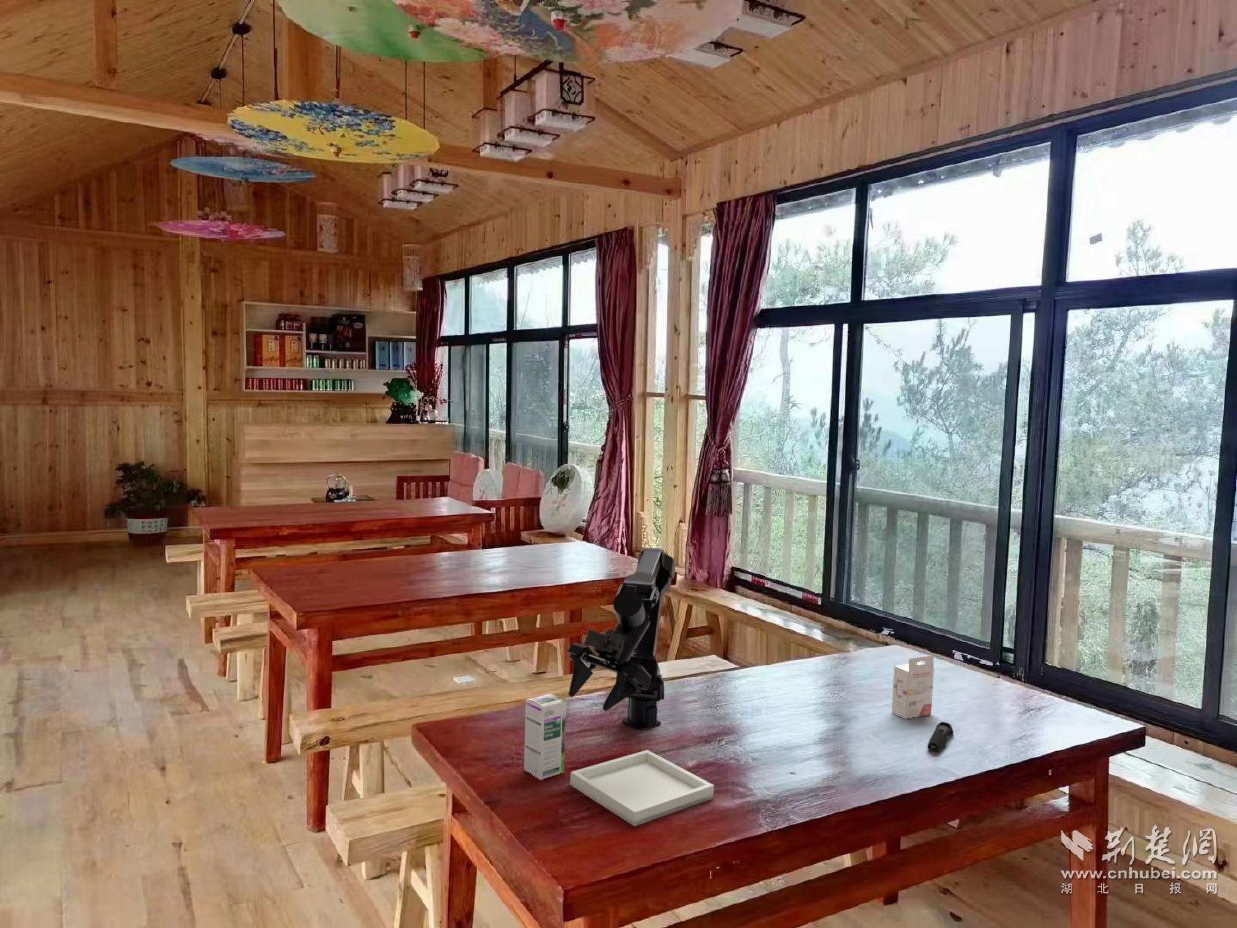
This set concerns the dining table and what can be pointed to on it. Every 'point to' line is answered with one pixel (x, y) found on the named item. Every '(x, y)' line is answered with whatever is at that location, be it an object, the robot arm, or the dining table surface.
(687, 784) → the tray
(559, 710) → the syrup box
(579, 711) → the dining table surface
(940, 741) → the electric trimmer
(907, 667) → the ink cartridge box
